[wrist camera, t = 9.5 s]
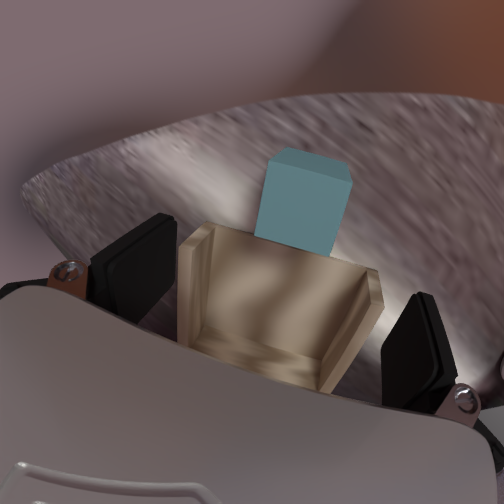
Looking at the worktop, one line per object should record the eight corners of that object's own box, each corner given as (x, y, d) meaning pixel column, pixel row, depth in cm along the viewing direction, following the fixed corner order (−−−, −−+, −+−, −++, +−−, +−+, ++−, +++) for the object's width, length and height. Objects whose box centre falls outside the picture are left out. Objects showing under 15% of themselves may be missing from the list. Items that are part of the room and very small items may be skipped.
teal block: (346, 163, 21) (352, 183, 15) (330, 218, 24) (328, 257, 18) (286, 147, 22) (268, 160, 16) (274, 202, 24) (254, 235, 19)
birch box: (377, 270, 25) (384, 307, 20) (327, 365, 32) (323, 402, 27) (206, 221, 27) (178, 246, 22) (196, 325, 34) (177, 356, 30)
